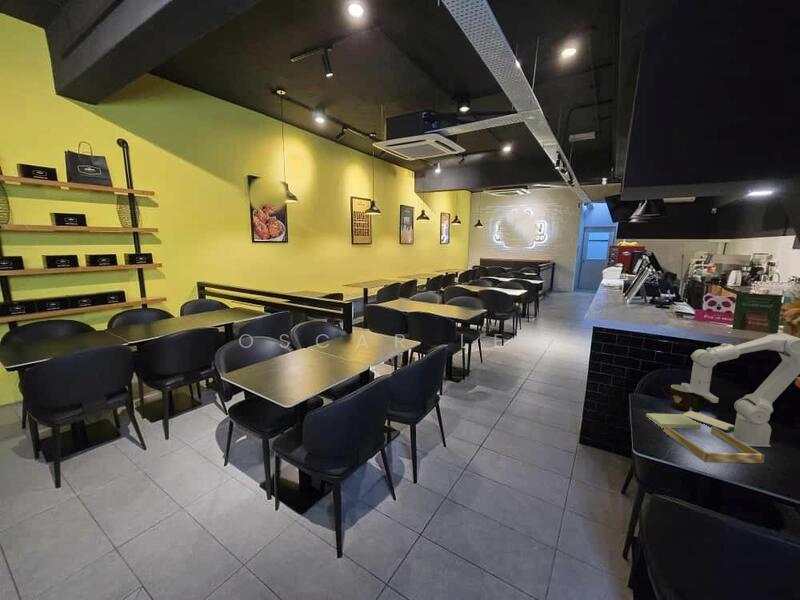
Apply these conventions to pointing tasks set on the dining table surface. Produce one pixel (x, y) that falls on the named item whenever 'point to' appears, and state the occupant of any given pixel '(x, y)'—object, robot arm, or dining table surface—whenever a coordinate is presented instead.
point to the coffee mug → (679, 398)
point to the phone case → (709, 421)
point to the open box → (745, 457)
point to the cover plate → (673, 421)
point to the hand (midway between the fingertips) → (695, 411)
